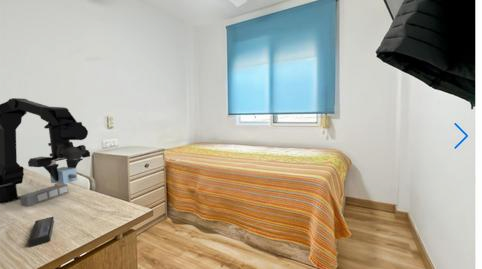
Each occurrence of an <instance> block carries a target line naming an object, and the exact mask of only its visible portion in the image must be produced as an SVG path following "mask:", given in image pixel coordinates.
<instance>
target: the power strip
mask: <svg viewBox="0 0 482 269" xmlns="http://www.w3.org/2000/svg"><path fill="white" fill-rule="evenodd" d="M67 192H68V193H69V187H68V183H66V184H57V183H54V185H52V186H48V187H45V188H43V189H42V188H41V189H39V190H36V191H32V192H29V193H26V194H22V195H20V203H21V206H22V207H23V206H24V207H31V206H33V205H36V204H39V203H42V202H45V201H48V200H51V199H53V198H55V197H59V196H62V195H65V194H68V193H67Z"/></svg>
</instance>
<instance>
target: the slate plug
mask: <svg viewBox="0 0 482 269" xmlns="http://www.w3.org/2000/svg"><path fill="white" fill-rule="evenodd" d="M57 170H58V177H59V180H58V181H55V180H54V178H53V177H52V176H51V175H50V174H49V176H50V183H52V184H69V183H73V182H76V181H78V176H77V172H78V171H77V167H76V168H70V167H67V166H62V167H57Z"/></svg>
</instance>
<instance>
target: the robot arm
mask: <svg viewBox="0 0 482 269" xmlns="http://www.w3.org/2000/svg"><path fill="white" fill-rule="evenodd" d="M69 110H70V109H68V108H67V107H64V106H48V105H45V104H42V103H38V102H36V101H31V100H28V99H27V98H16V97H15V98H14V97H13V98H9V99H8V100H7V101H5V102H3V103H1V104H0V204H6V203H10V202H13V201H15V200H19V199H20V200H21V198H20V196H21V195H20V196H19V195H18V188H17V185H20V184H22V183H23V181H24V180H23V179H24V175H25V174H24V169H25V168H24V166H22V165H20V164H19V163H18V161H17V159H18V158H17V155H18V154H17V128H18V127H19V126H20V125H21V124H22V121H23V120H22V119H23V117H24V116H25V115H27V113H29V114H33V115H36V116H38V117H39V118H40V119H41V120H42V121H45V122H46V123H47V124H46V125H45V126H44V127H43V128H44V129H48V134H49V142H48V143H47V144H48V145H47V146H48V147H50V151H51V153H49V156H38V157H32V158H29V160H28V161H27V163H28V164H27V165H28V167H31V168H44V169H45V170H46V171H47V172H48V173H49V176H50V175H51V176H52V177H53V178H54V180H55V181H58V180H59V177H58V170H57V168H59V165H60V164H59V163H57V162H58V161H63V160H65V161H66V167H70V168H76V169H77V166H78V164H79V163H80V162H81V161H83V160H84V158H89V157H91V152H90V151H89V149H87V148H86V146H85V144H80V145H77V146H74V143H73V141H83V140H85V139H86V138H87V136H88V134H89V131H88V129H87V127H86V126H84V125H83V122H82V121H77V120H76V119H75V118H74V116H73V115H72V113H71V112H70V111H69Z"/></svg>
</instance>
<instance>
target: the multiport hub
mask: <svg viewBox="0 0 482 269" xmlns="http://www.w3.org/2000/svg"><path fill="white" fill-rule="evenodd" d="M54 218H55V217H54V216H49V217H46V218H42V219H37V220H35V222H34V224H33V228H32V230H31V232H30V235H29V238H28V241H27V242H28V247H29V248H33V247H36V246H40V245H43V244H47V243H49V242H51V239H52V234H53V230H54V226H55V225H54V224H55V219H54Z"/></svg>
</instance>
